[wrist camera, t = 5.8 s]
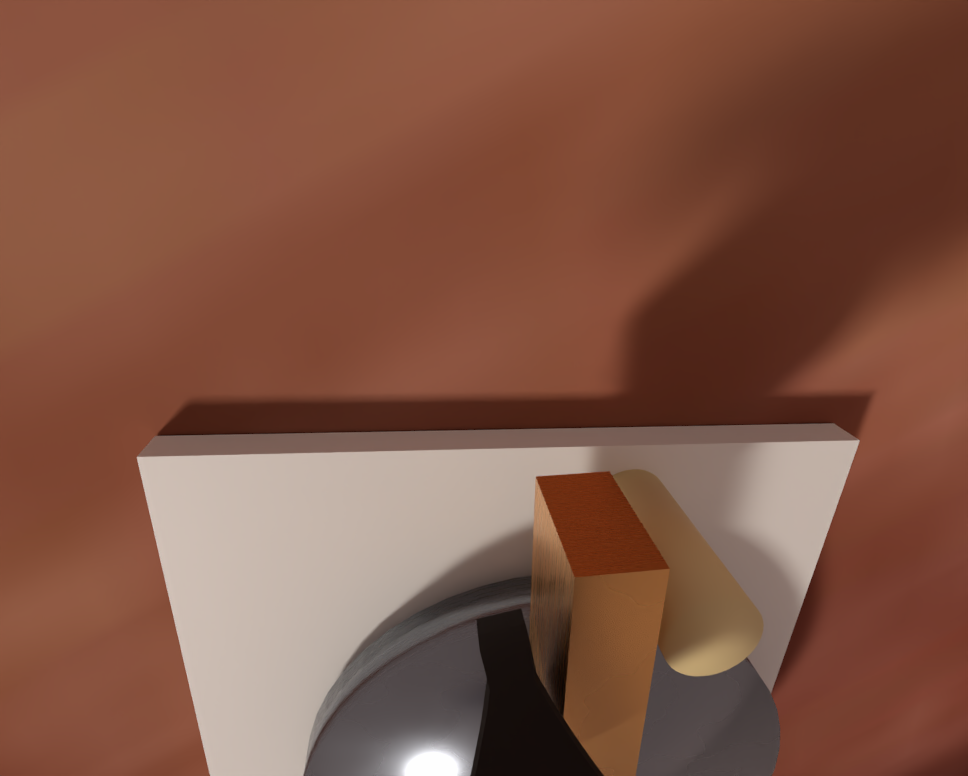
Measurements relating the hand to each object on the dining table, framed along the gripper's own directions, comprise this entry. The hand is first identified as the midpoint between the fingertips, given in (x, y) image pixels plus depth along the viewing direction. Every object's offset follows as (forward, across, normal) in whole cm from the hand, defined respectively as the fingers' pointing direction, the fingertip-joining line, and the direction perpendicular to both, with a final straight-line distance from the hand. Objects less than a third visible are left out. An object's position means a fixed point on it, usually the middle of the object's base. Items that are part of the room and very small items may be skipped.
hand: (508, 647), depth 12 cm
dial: (+3, 0, +6) cm, 7 cm away
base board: (+4, +1, +7) cm, 8 cm away
